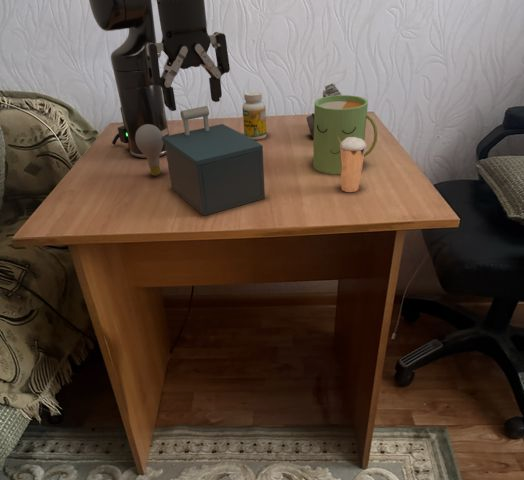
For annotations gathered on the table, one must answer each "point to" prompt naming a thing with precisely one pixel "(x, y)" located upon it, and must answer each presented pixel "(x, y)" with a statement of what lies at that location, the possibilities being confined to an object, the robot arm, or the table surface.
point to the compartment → (217, 181)
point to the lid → (209, 140)
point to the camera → (329, 91)
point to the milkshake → (351, 162)
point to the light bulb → (150, 145)
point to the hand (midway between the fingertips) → (194, 105)
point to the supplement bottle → (254, 116)
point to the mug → (338, 129)
